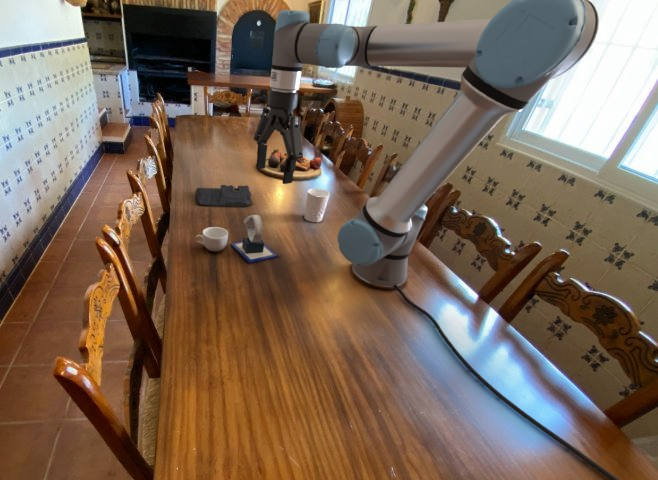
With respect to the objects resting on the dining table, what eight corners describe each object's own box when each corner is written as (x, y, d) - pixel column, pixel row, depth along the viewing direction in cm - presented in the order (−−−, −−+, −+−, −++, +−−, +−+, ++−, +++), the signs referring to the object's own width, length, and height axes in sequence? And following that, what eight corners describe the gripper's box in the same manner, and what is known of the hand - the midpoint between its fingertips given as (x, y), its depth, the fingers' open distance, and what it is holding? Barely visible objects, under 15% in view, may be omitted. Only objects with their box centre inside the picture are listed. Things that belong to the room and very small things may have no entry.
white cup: (323, 224, 131) (329, 197, 124) (301, 221, 132) (307, 194, 125) (323, 215, 137) (329, 190, 130) (303, 212, 138) (308, 187, 131)
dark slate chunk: (194, 191, 148) (194, 179, 145) (247, 192, 151) (248, 181, 148) (196, 206, 136) (196, 194, 133) (252, 207, 139) (254, 195, 136)
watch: (256, 242, 115) (260, 210, 108) (264, 255, 109) (269, 221, 102) (240, 243, 114) (242, 211, 107) (247, 256, 108) (250, 222, 101)
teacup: (226, 242, 116) (226, 226, 112) (228, 254, 110) (229, 238, 106) (195, 242, 114) (194, 226, 111) (195, 254, 108) (195, 238, 105)
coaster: (277, 257, 110) (277, 255, 110) (249, 263, 106) (249, 261, 106) (257, 239, 118) (257, 238, 118) (230, 245, 114) (230, 243, 114)
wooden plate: (327, 167, 185) (331, 150, 180) (311, 186, 162) (315, 167, 156) (269, 156, 194) (271, 140, 189) (246, 172, 171) (248, 154, 166)
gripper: (245, 83, 97) (240, 164, 110) (302, 98, 80) (288, 191, 93) (268, 83, 100) (260, 161, 113) (328, 98, 83) (310, 188, 97)
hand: (273, 175), depth 103 cm, fingers open, 13 cm apart
